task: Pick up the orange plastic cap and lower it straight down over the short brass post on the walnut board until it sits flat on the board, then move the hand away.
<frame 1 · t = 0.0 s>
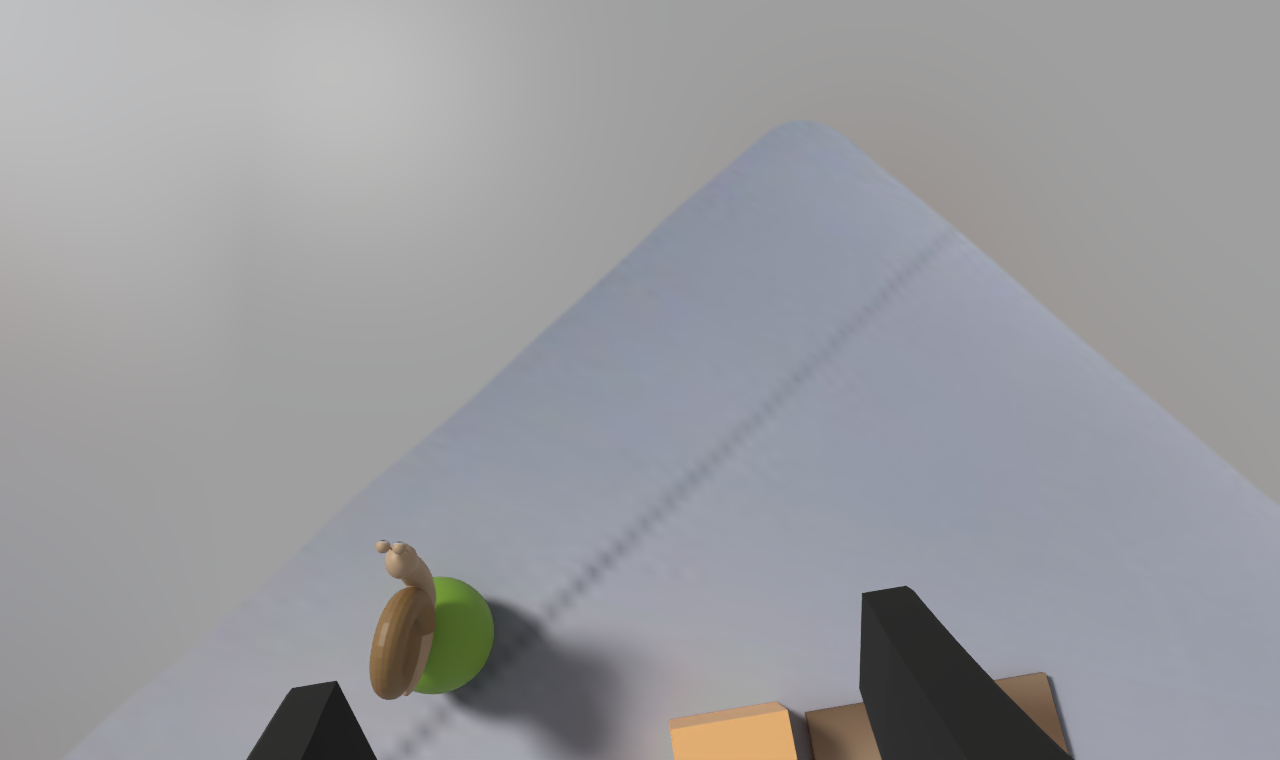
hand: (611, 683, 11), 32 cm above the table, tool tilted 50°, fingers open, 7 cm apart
snail figurine: (453, 623, 43), on the table
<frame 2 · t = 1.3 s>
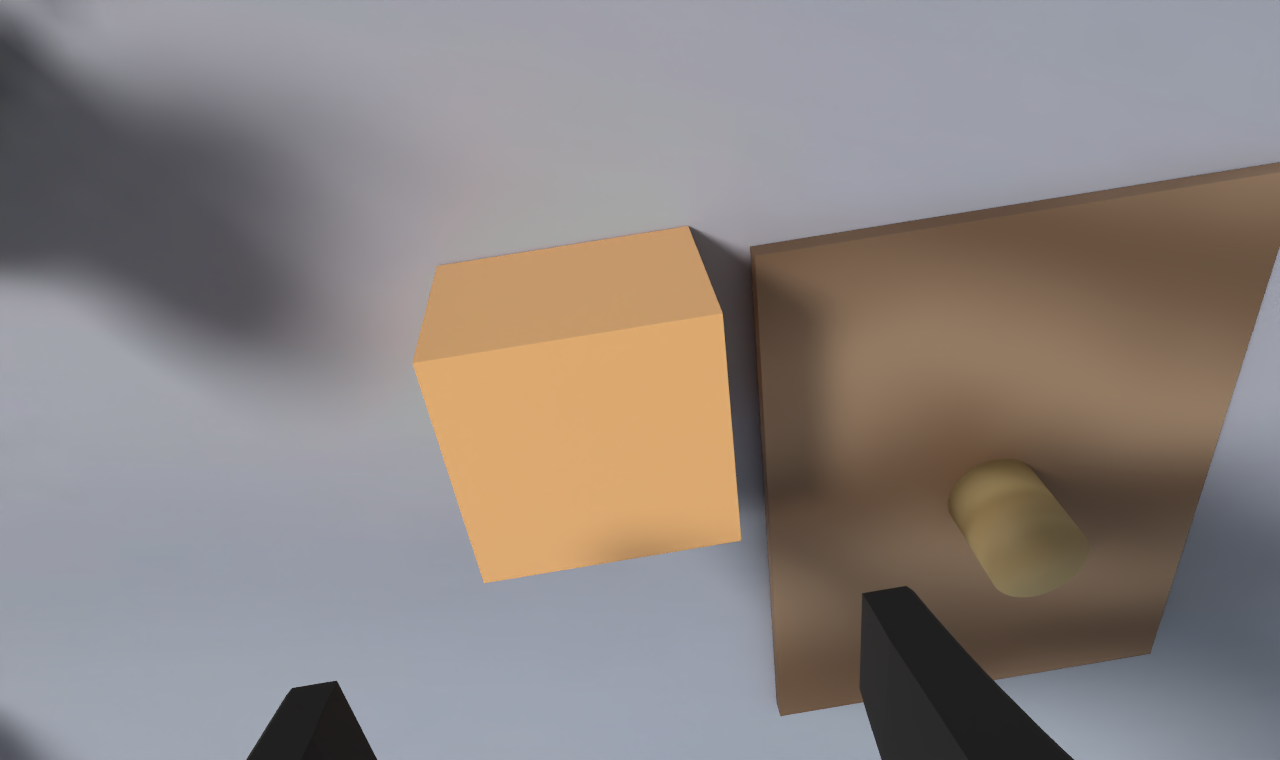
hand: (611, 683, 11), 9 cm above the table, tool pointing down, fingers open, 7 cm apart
post board: (983, 482, 23), on the table
orange cap: (583, 353, 19), on the table
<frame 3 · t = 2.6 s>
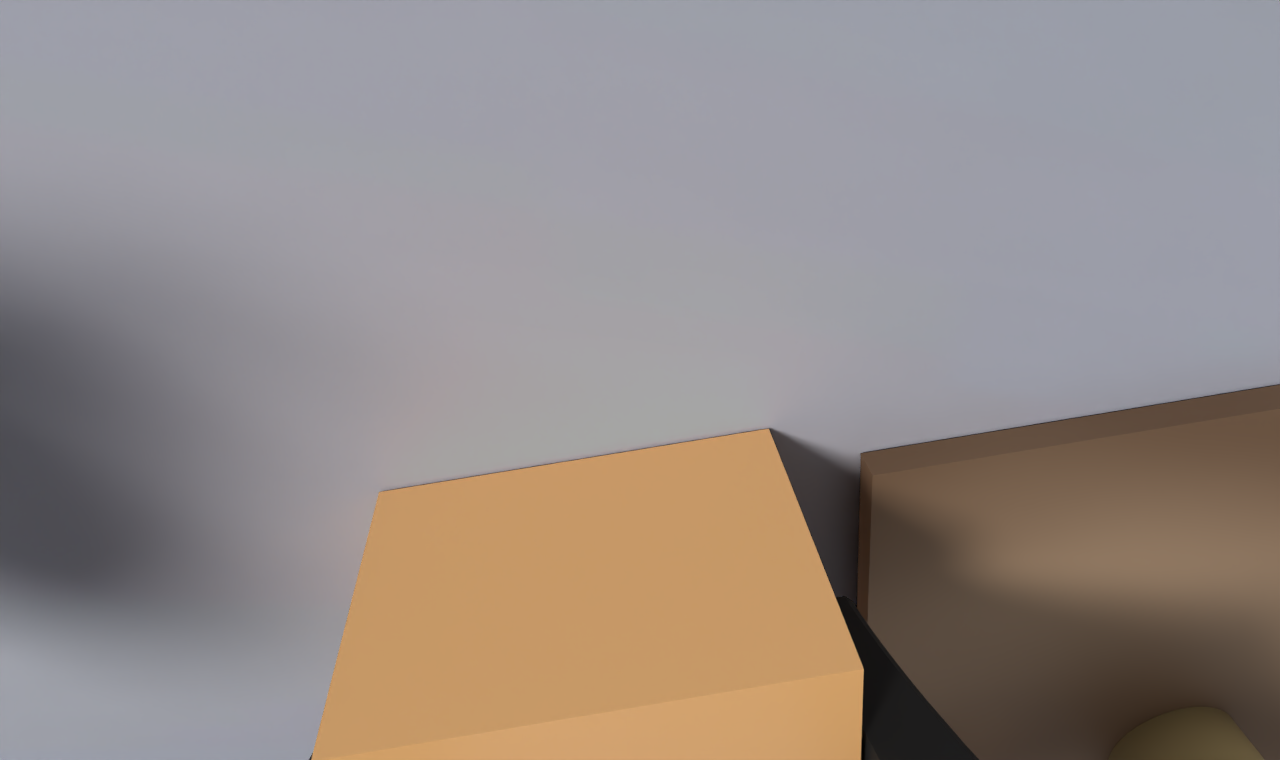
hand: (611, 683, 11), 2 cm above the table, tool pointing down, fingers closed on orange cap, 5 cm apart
post board: (1154, 723, 16), on the table
orange cap: (604, 596, 13), on the table, touching gripper
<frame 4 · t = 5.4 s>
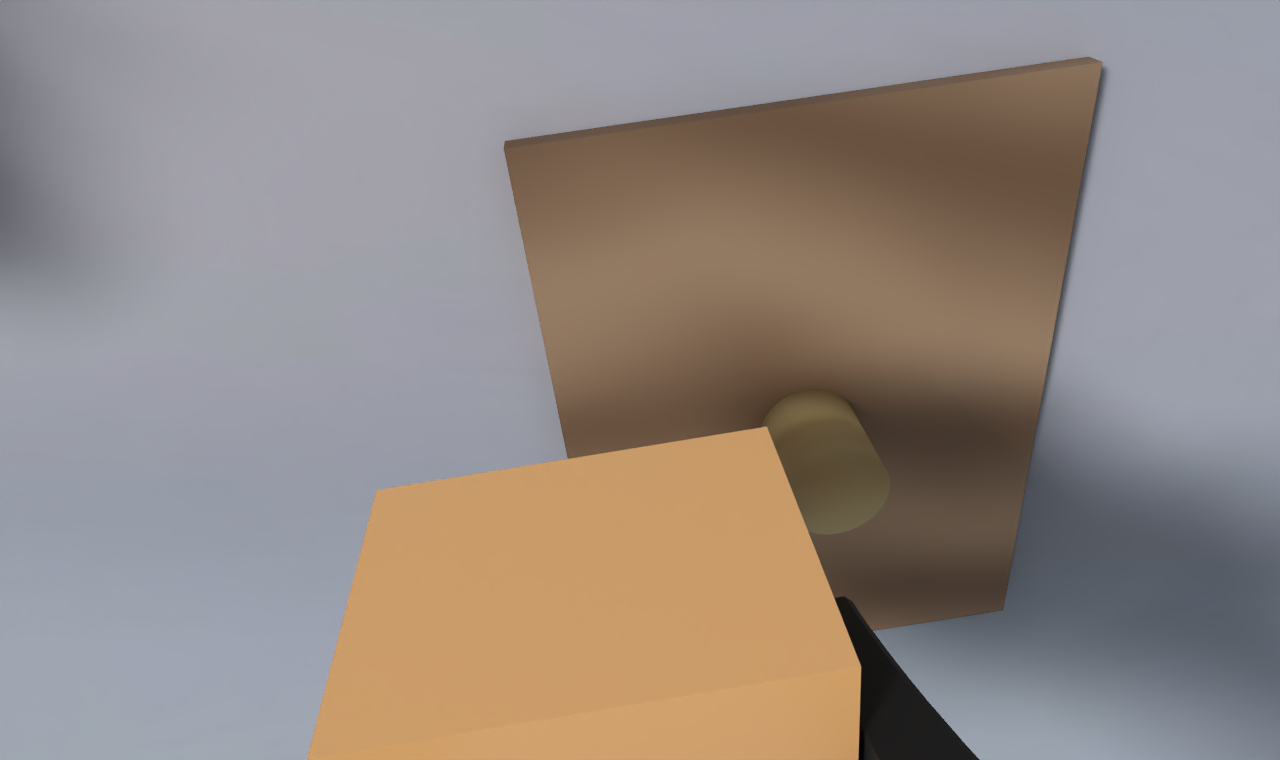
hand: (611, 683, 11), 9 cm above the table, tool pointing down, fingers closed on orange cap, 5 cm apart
post board: (802, 417, 21), on the table
orange cap: (602, 594, 13), point 8 cm above the table, touching gripper
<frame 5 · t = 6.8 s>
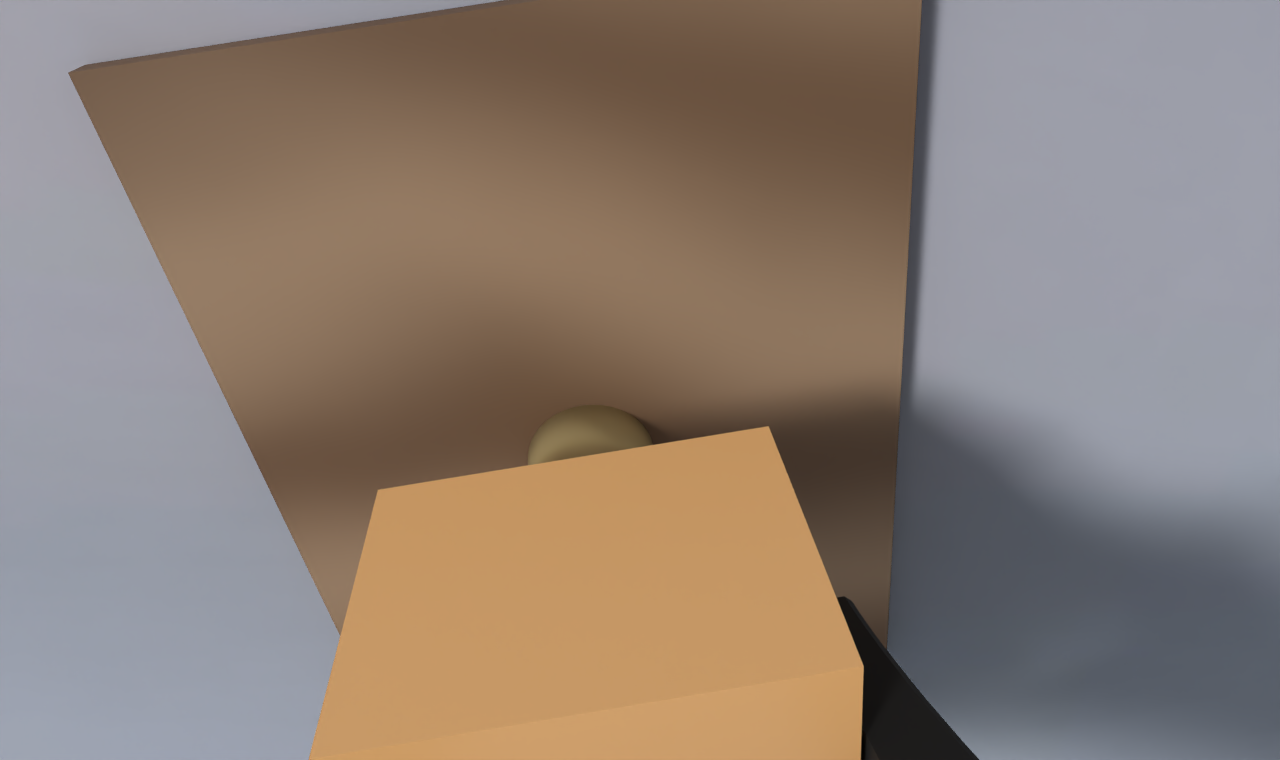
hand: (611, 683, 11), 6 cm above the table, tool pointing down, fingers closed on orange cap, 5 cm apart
post board: (589, 441, 16), on the table
orange cap: (603, 594, 13), point 4 cm above the table, touching gripper
when the fingers open (3 cm above the table, at t = 8.1 s): orange cap stays where it is, resting on post board.
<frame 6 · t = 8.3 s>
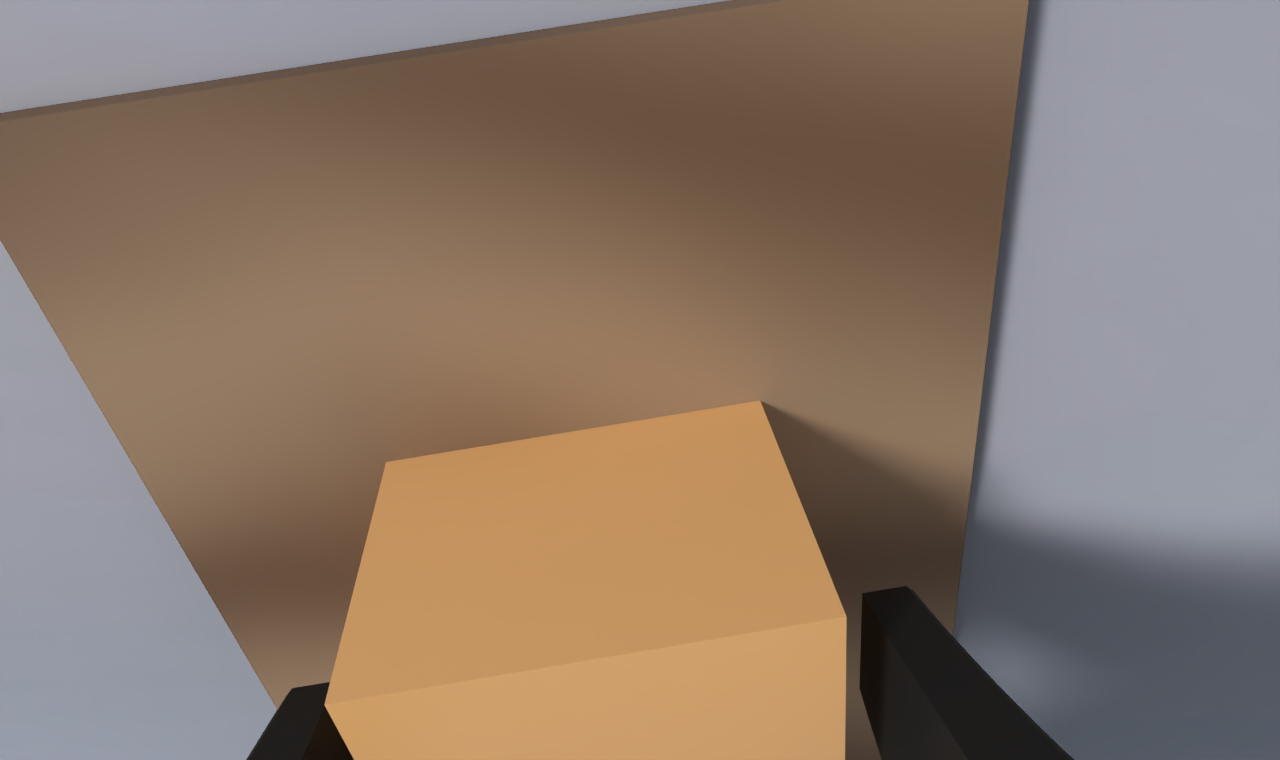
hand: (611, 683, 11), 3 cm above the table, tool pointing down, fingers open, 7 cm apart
post board: (600, 546, 14), on the table
orange cap: (602, 565, 13), resting on post board
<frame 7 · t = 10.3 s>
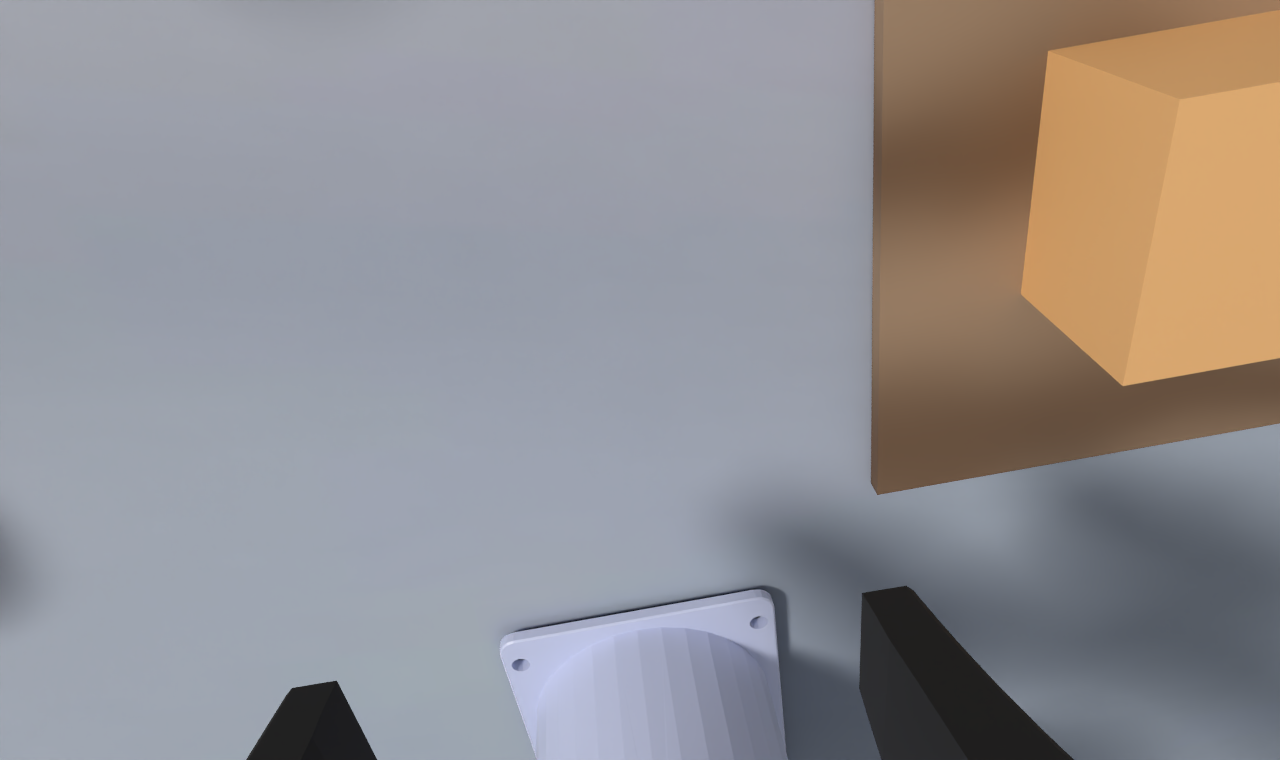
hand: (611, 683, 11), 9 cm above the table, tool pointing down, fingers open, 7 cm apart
post board: (1141, 156, 18), on the table
orange cap: (1156, 160, 18), resting on post board
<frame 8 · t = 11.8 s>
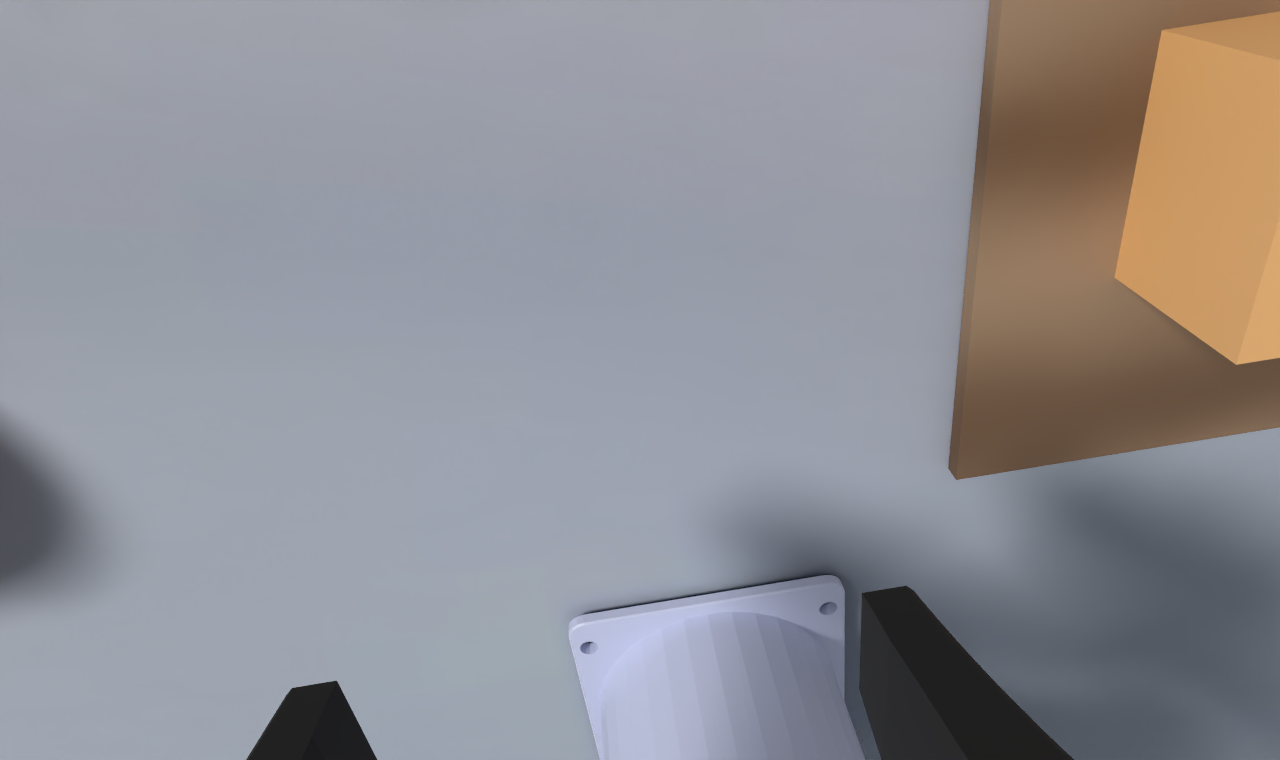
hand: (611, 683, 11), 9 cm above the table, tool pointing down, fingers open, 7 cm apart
post board: (1241, 140, 18), on the table
orange cap: (1259, 144, 18), resting on post board
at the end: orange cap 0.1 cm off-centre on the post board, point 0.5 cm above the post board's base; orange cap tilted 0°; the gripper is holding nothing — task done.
